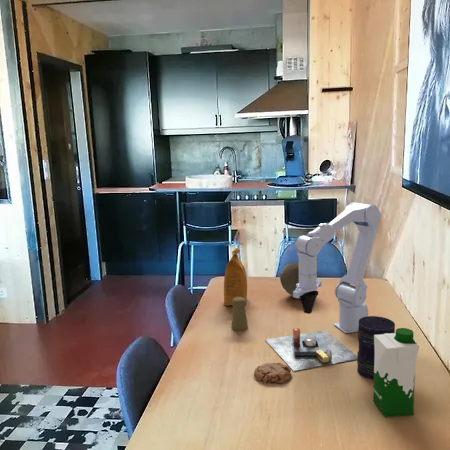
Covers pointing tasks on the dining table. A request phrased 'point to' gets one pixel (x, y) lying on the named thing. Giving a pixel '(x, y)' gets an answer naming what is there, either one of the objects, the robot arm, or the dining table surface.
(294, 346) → the metal parts fixture
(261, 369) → the cookie
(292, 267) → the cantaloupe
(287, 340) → the post base
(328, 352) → the dowel pin
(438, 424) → the dining table surface
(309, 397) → the dining table surface
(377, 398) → the milk carton
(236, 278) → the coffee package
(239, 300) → the olive green shaker
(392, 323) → the storage jar
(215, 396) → the dining table surface
